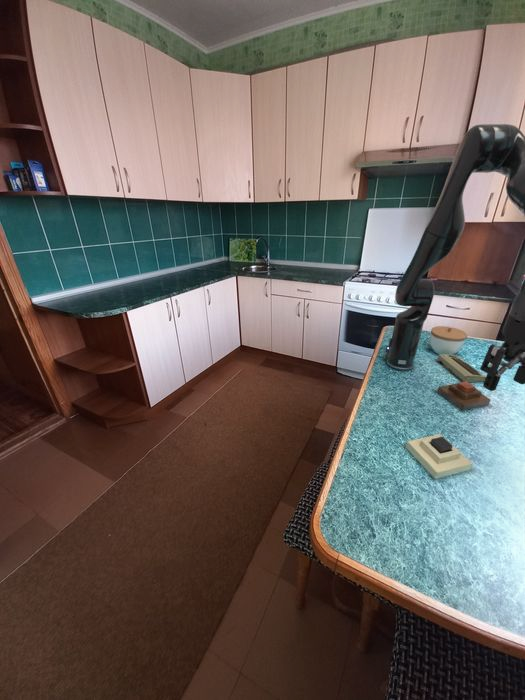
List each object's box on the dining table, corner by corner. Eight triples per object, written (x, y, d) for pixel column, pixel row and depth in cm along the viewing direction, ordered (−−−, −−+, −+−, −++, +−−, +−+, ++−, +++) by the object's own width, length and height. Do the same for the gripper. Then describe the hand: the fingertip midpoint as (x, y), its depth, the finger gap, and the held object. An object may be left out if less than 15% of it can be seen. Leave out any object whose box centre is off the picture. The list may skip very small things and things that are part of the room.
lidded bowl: (421, 344, 128) (427, 321, 122) (452, 345, 126) (460, 322, 121) (432, 358, 116) (439, 333, 111) (466, 359, 115) (475, 334, 110)
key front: (429, 444, 71) (431, 438, 71) (440, 441, 72) (442, 436, 71) (439, 453, 69) (441, 448, 68) (451, 451, 69) (453, 445, 69)
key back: (456, 387, 92) (458, 382, 92) (465, 385, 93) (466, 381, 92) (465, 393, 90) (467, 388, 89) (473, 391, 90) (475, 386, 90)
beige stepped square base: (405, 447, 75) (408, 435, 73) (437, 439, 77) (441, 428, 76) (434, 479, 67) (439, 467, 65) (470, 469, 69) (475, 457, 67)
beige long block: (485, 381, 101) (488, 373, 99) (462, 383, 101) (465, 375, 99) (455, 360, 115) (458, 352, 113) (436, 361, 115) (438, 353, 113)
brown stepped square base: (436, 392, 96) (439, 382, 94) (461, 387, 98) (465, 377, 97) (462, 410, 88) (466, 400, 86) (488, 405, 90) (493, 394, 88)
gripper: (540, 305, 61) (511, 372, 68) (486, 313, 57) (462, 381, 65) (583, 317, 54) (547, 389, 62) (526, 327, 51) (494, 401, 58)
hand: (503, 385), depth 63 cm, fingers open, 8 cm apart
